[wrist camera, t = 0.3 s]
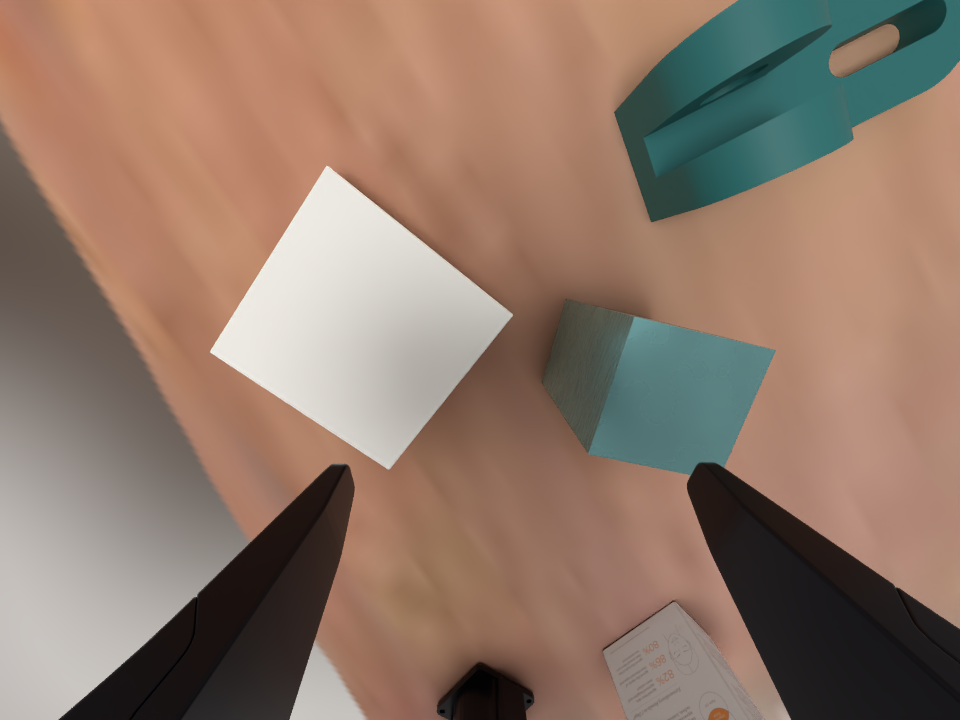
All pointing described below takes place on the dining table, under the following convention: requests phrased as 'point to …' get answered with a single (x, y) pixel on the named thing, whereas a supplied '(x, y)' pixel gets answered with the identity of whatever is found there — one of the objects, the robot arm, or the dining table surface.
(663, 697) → the small box
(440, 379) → the riser block
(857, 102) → the bracket
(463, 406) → the dining table surface
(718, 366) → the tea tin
